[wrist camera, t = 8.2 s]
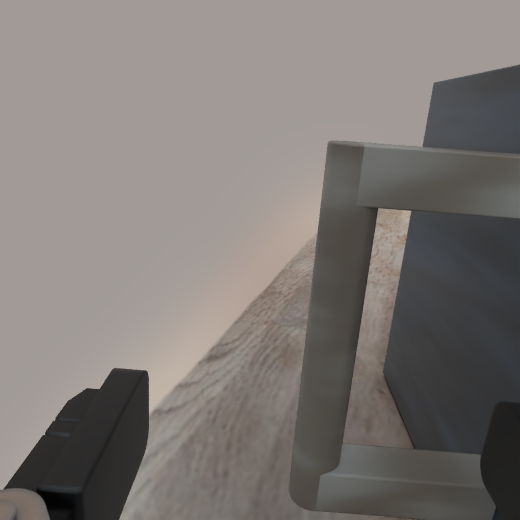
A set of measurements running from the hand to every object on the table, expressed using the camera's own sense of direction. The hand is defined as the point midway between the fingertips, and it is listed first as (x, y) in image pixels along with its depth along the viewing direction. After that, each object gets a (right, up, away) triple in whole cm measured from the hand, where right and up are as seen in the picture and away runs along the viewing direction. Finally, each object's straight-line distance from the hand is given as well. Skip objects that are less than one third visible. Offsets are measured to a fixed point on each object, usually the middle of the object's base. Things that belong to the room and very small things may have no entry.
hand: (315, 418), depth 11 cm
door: (+4, -6, +12) cm, 13 cm away
